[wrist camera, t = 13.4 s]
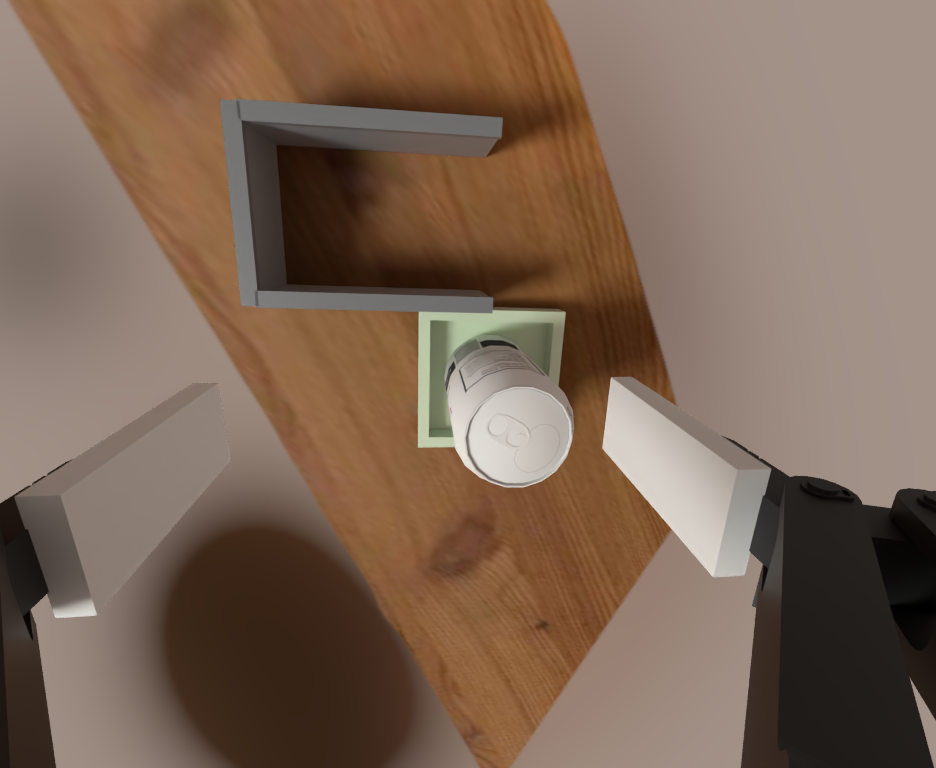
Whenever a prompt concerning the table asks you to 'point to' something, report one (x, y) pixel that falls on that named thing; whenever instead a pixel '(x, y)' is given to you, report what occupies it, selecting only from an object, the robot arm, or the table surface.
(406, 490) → the table surface
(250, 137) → the dock
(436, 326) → the tray
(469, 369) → the supplement can
